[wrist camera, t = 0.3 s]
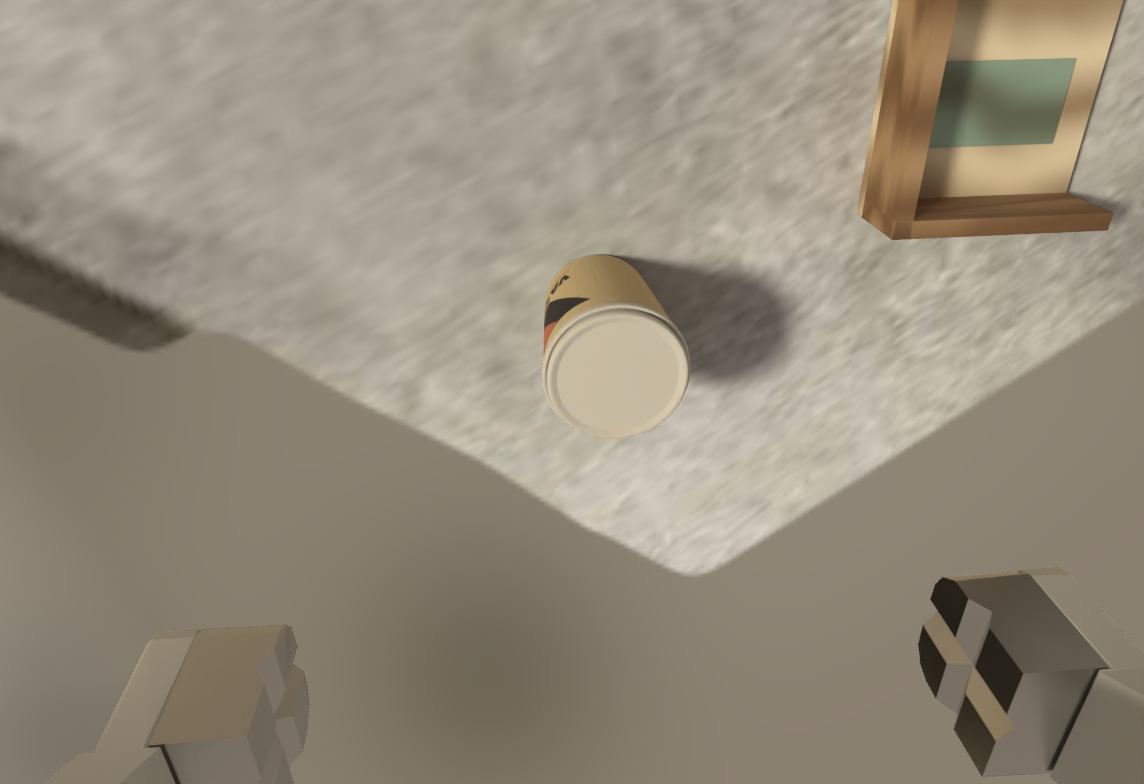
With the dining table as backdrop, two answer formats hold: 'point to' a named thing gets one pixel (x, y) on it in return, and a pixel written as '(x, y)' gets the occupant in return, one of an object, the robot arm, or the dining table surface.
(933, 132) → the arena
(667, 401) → the coffee cup
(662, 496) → the dining table surface
